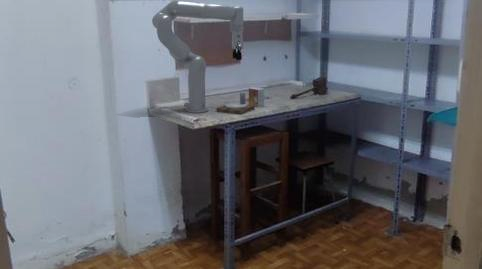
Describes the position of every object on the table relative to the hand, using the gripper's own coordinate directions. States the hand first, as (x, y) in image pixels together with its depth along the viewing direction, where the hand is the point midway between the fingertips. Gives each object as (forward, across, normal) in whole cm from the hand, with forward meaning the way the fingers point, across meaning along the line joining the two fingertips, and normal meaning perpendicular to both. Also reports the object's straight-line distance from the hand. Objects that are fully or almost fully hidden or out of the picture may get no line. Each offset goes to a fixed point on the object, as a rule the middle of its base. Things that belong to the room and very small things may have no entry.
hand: (237, 59), depth 286 cm
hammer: (+29, +26, -52) cm, 65 cm away
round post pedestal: (+26, -10, +3) cm, 28 cm away
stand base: (+28, -10, +3) cm, 30 cm away
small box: (+29, +2, -12) cm, 31 cm away
